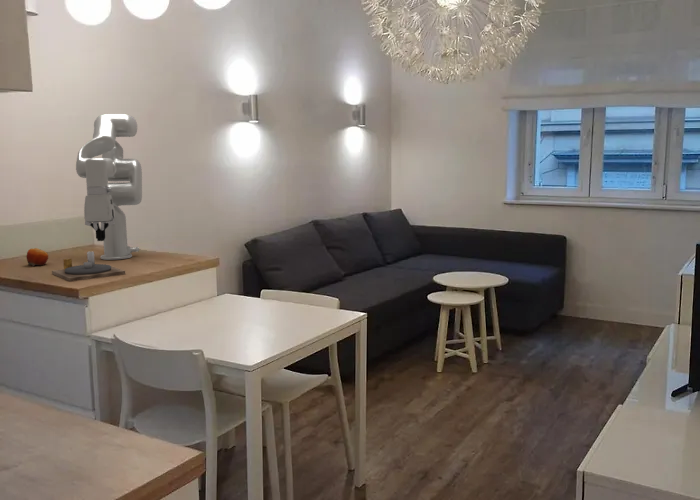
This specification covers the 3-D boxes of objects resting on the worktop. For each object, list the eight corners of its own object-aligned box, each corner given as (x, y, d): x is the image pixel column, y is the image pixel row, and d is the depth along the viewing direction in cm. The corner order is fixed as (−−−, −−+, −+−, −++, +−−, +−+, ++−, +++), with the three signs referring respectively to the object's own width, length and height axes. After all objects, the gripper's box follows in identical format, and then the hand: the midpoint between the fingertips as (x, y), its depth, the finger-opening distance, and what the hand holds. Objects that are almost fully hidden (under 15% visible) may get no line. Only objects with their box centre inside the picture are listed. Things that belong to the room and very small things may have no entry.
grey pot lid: (102, 265, 263) (101, 249, 262) (117, 270, 251) (116, 254, 250) (59, 270, 253) (57, 254, 252) (73, 276, 241) (71, 259, 240)
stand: (105, 267, 266) (104, 254, 265) (125, 274, 251) (124, 260, 250) (52, 273, 254) (50, 260, 253) (69, 281, 238) (68, 266, 237)
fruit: (18, 262, 271) (26, 244, 273) (34, 270, 277) (42, 252, 280) (29, 264, 267) (38, 245, 269) (46, 272, 273) (54, 253, 275)
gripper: (121, 190, 258) (124, 239, 260) (81, 191, 258) (84, 240, 260) (114, 191, 251) (117, 241, 253) (73, 192, 250) (77, 242, 252)
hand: (101, 240), depth 256 cm, fingers closed
